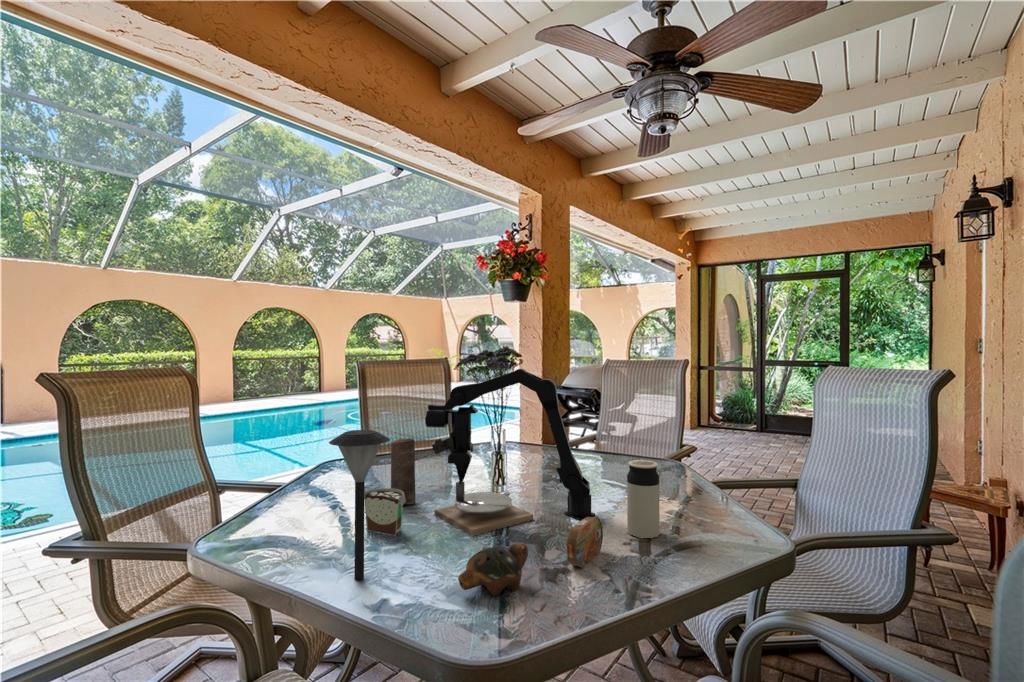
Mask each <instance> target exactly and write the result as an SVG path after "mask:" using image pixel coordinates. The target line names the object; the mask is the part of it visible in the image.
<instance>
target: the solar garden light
mask: <svg viewBox="0 0 1024 682" xmlns="http://www.w3.org/2000/svg"><path fill="white" fill-rule="evenodd" d="M390 441H391V438H390V437H387V436H386V435H384V434H382V433H381V432H378V431H377V430H373V429H356V430H355V429H353V430H346V431H344V432H343V433H341V434H340V435H337V436H336V437H334V438H333V439H331V440H330V441H329V442H328V444H329V445H332V446H337V447H338V448H339V451H340V452H341V455H342V457H343V458H344V461H345V464H346V465H347V468H348V469H349V471H350V474H351V476H352V478H353V481H354V578H353V579H354V581H355V580H356V581H355V582H361V581H363V580H364V579H365V499H364V492H365V489H366V488H365V485H366V484H365V480H366V479H367V476H368V473H369V472H370V469H371V468H372V465H373V463H374V461H375V458H376V456H377V454H378V451H379V449H380V448H381V445H382V444H385V443H387V442H390Z"/></svg>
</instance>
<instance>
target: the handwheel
mask: <svg viewBox="0 0 1024 682" xmlns="http://www.w3.org/2000/svg"><path fill="white" fill-rule="evenodd" d="M512 501H513V500H512V498H511V497H510V496H509V495H508V494H505V493H504V494H503V493H501V492H500V493H498V492H492V491H491V492H490V491H486V492H485V491H478V492H477V491H476V492H470V493H466V494H465V481H463V482H462V481H459V480H458V481H456V482H455V500H454V505H455V508H456V509H458V510H460V511H463V512H467V513H474V514H489V513H497V512H501V511H504V510H507V509H509V508H510V507H511V505H512V504H513V503H512ZM512 506H513V505H512Z"/></svg>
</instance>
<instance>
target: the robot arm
mask: <svg viewBox="0 0 1024 682" xmlns="http://www.w3.org/2000/svg"><path fill="white" fill-rule="evenodd" d="M516 384H521V385H523V386H524V387H526V388H528V389H529V390H530V391H533V392H535V394H536V395H537V398H538V400H539V402H540V404H541V406H542V407H543V409H544V410H545V411H544V412H545V413H546V416H547V419H548V423H549V427H550V430H551V433H552V436H553V440H554V443H555V446H556V451H557V453H558V457H559V463H557V464H556V468H555V470H556V472H557V474H558V477H559V483H560V484H561V483H562V485H563V487H564V488H565V489H567V490H568V491H567V511H564V513H563V515H566V516H568V517H570V518H573V519H576V520H580V521H582V520H583V519H584V518H586V517H596V513H594V512H592V494H590V493H591V485H590V482H589V481H588V480H587V479H586V478H585V476H583V471H582V470H581V467H580V466H579V463H578V461H577V460H576V458H575V456H574V454H573V452H572V449H571V445H570V441H569V439H568V434H567V432H566V429H565V428H566V427H565V424H564V421H563V418H562V414H561V411H560V407H559V406H560V405H559V397H558V390H557V389H558V387H557V384H556V382H555V381H554V380H553V379H551V378H541V377H540V376H537V375H535V374H533V373H531V372H529V371H527V370H525V369H524V368H518V369H516V370H514V371H511V372H508V373H506V374H502V375H499V376H497V377H494V378H491V379H488V380H484V381H482V382H477V383H470V384H464V385H463V384H462V385H459V386H456V387H454V388H452V389H451V391H450V393H449V399H448V400H447V402H446V403H445V404H444V405H443V404H442V405H441V404H432V403H431V404H428V405H427V410H426V415H425V419H424V420H425V421H424V422H425V427H426V428H432V429H433V428H435V429H436V428H440V429H446V428H448V425H451V432H450V433H449V436H446V437H443V438H438V439H435V440H434V441H433V442H432V443H431V447H432V451H433V452H434V454H435V455H438V454H440V453H442V452H445V451H448V450H449V451H450V452H449V454H448V456H447V463H448V464H449V465H450V464H453V465H455V469H456V473H457V478H458V482H459V481H462V482H464V479H465V478H466V477H465V476H466V474H467V472H468V468H469V466H470V464H471V461H472V456H473V455H472V454H471V453H473V451H474V444H473V443H472V414H473V415H474V414H476V413H479V410H478V409H477V408H476V407H475V406H474V405H473V404H470V405H469V407H468V406H467V407H464V406H465V405H467V404H469V403H471V402H472V401H474V400H476V399H478V398H480V397H482V396H483V395H484V396H485V395H487V394H490V393H492V392H495V391H497V390H501V389H503V388H507V387H510V386H512V385H516ZM457 407H458V409H455V410H454V408H457ZM469 451H470V452H469Z"/></svg>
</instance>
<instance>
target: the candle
mask: <svg viewBox="0 0 1024 682" xmlns="http://www.w3.org/2000/svg"><path fill="white" fill-rule="evenodd" d="M415 441H416V440H415V438H411V437H409V438H406V437H403V438H402V437H401V438H398V439H396V440H393V441H391V442H390V488H391V489H398V490H401V491H403V492H404V495H405V499H406V502H405V503H404V504H403V505H415V504H416V459H415V457H416V456H415V455H416V453H415V452H416V451H415V449H416V448H415Z"/></svg>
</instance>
